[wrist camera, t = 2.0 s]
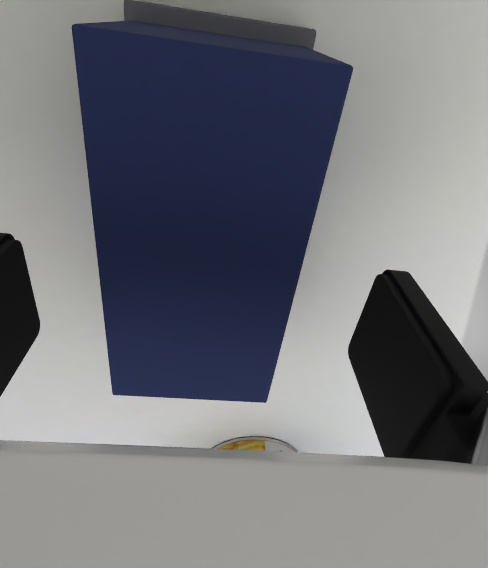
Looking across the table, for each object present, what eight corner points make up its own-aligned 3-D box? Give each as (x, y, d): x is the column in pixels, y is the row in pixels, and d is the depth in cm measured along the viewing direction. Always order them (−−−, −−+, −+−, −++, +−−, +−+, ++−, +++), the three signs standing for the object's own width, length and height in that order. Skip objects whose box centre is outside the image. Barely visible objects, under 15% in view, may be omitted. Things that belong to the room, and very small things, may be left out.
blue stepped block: (133, 0, 12) (54, -12, 7) (309, 28, 13) (371, 39, 7) (143, 332, 21) (113, 449, 15) (249, 339, 22) (257, 455, 16)
